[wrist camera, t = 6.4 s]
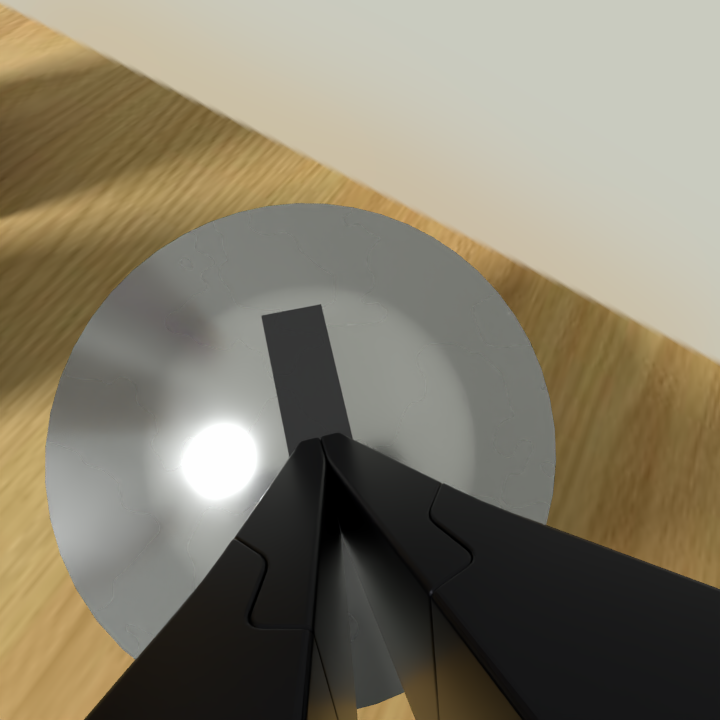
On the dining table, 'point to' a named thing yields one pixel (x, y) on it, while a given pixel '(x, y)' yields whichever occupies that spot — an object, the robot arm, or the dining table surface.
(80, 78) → the dining table surface
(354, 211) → the lid
